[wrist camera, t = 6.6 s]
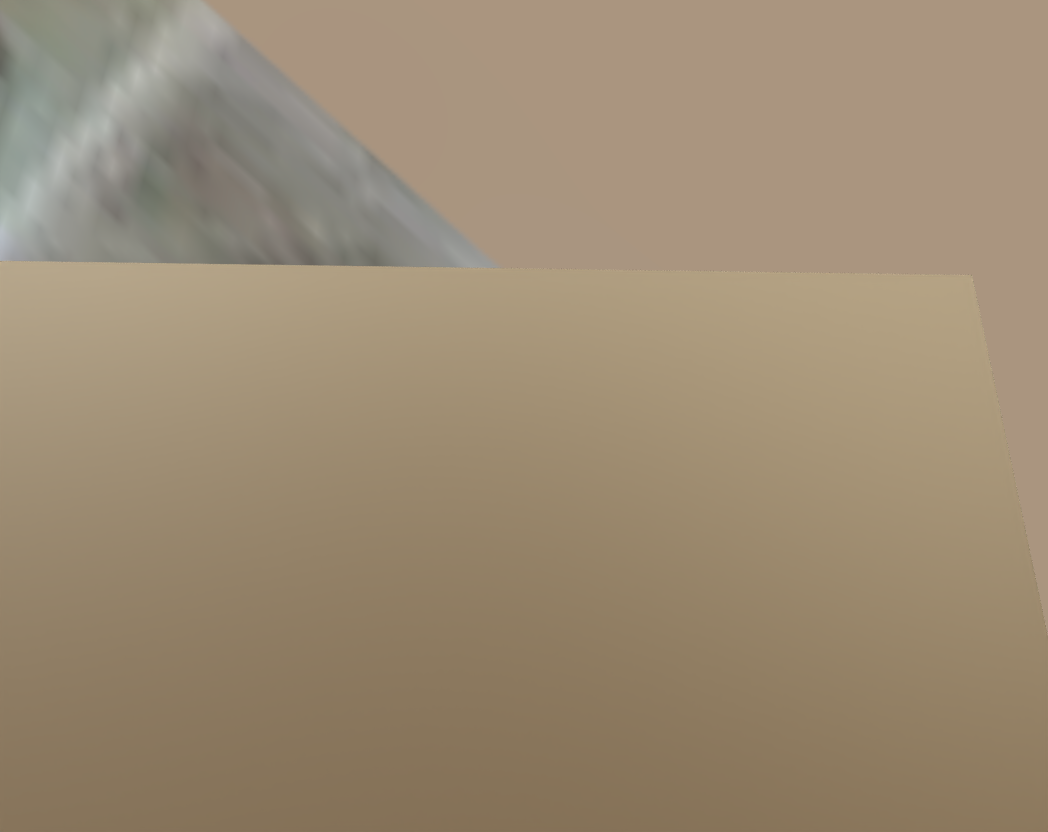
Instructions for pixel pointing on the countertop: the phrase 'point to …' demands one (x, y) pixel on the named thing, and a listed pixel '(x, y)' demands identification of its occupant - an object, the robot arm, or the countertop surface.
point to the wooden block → (509, 553)
